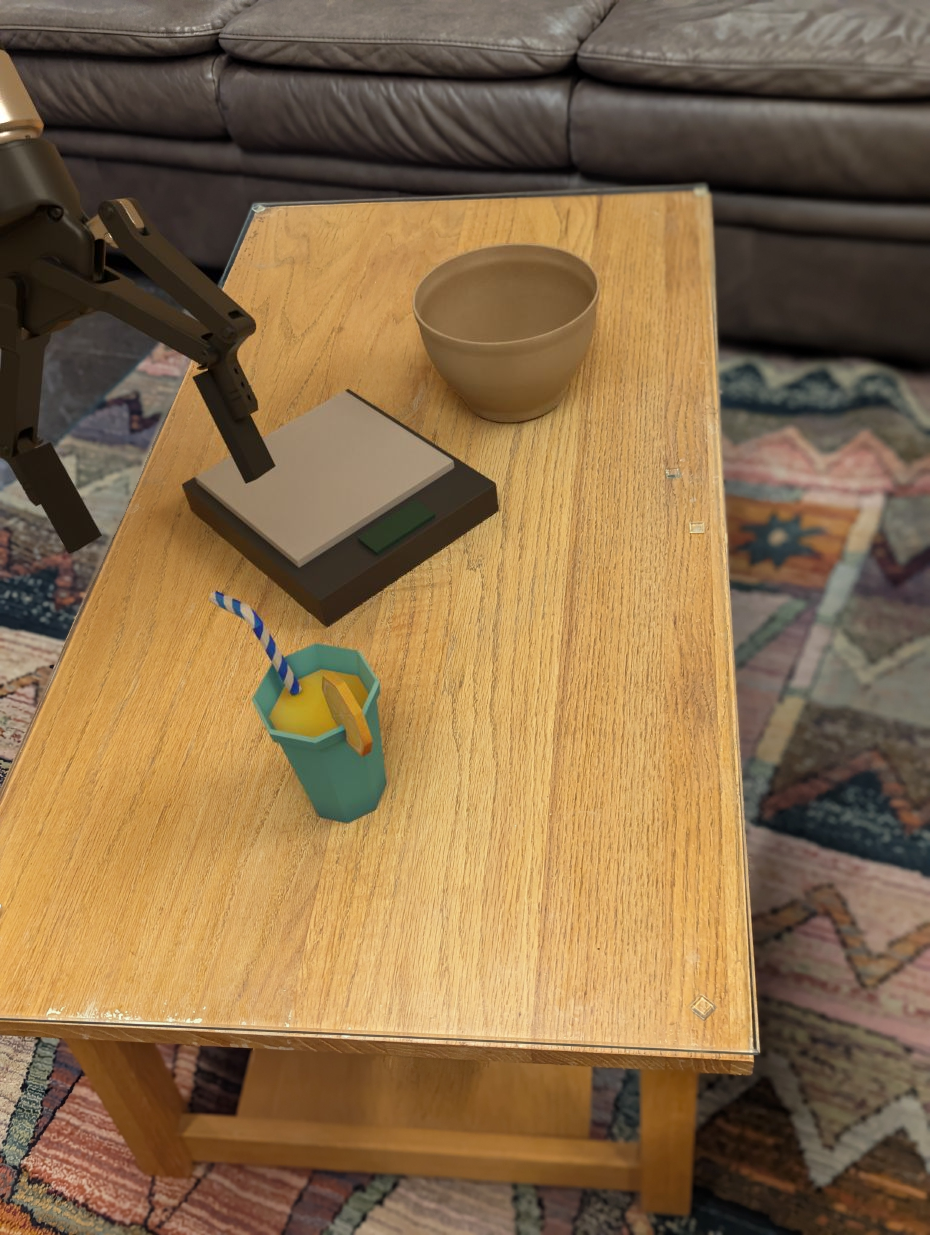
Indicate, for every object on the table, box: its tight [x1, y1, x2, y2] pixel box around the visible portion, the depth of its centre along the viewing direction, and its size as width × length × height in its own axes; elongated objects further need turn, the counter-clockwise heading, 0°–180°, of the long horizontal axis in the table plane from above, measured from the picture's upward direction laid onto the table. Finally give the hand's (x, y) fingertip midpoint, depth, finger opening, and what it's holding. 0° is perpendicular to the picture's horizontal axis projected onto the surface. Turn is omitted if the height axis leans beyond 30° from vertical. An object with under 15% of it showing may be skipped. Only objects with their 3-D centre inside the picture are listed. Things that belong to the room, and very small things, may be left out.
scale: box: [181, 388, 500, 628], centre depth 90 cm, size 18×20×4 cm
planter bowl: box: [411, 242, 600, 423], centre depth 96 cm, size 16×16×11 cm
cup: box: [208, 590, 387, 824], centre depth 67 cm, size 14×8×15 cm, turn 50°
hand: (170, 511), depth 65 cm, fingers open, 13 cm apart
